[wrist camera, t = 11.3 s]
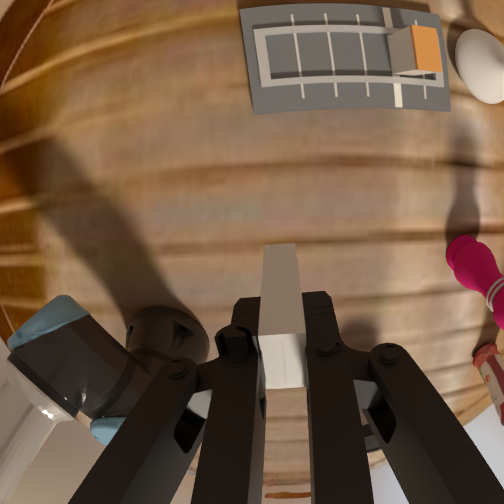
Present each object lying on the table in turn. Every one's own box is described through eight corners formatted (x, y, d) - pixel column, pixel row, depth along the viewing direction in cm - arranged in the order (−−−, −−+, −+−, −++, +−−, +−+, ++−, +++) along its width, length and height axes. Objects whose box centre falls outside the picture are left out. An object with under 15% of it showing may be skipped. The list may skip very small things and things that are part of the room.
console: (255, 114, 37) (253, 115, 34) (241, 13, 30) (238, 7, 28) (443, 111, 34) (453, 112, 31) (432, 17, 27) (441, 13, 25)
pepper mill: (453, 226, 41) (528, 299, 23) (483, 236, 41) (555, 305, 23) (436, 267, 44) (497, 350, 26) (466, 274, 44) (526, 351, 26)
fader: (392, 73, 30) (418, 69, 24) (387, 36, 28) (411, 24, 22) (413, 75, 30) (442, 72, 23) (408, 38, 28) (436, 28, 21)
